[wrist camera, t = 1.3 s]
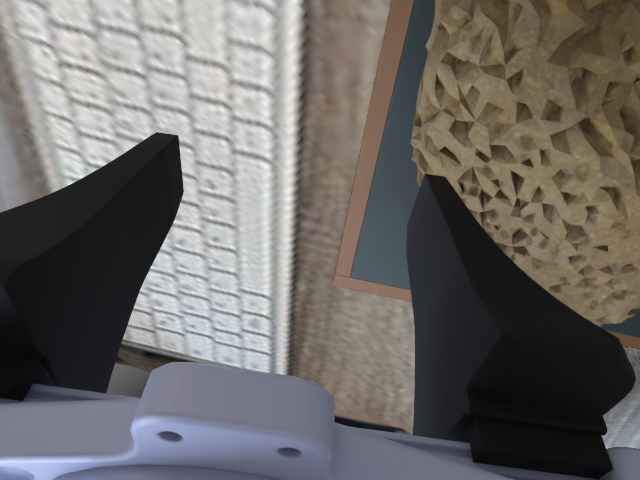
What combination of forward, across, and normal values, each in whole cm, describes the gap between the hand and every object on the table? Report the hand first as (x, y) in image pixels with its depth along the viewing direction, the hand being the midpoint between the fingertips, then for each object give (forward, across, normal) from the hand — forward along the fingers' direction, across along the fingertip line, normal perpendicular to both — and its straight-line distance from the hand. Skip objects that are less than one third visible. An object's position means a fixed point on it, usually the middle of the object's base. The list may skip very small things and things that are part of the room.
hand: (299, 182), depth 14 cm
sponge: (+10, -11, +2) cm, 15 cm away
